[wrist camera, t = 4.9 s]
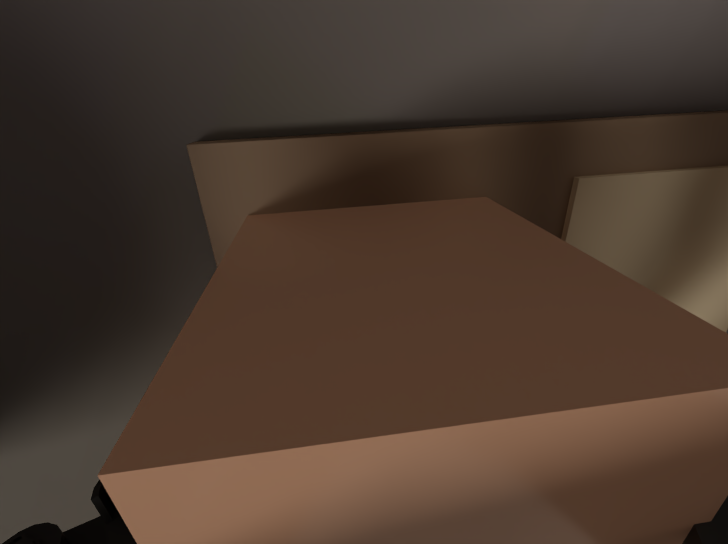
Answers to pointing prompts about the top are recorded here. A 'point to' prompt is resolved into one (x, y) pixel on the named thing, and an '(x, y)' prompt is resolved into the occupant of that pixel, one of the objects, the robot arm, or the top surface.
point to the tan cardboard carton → (425, 392)
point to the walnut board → (513, 187)
